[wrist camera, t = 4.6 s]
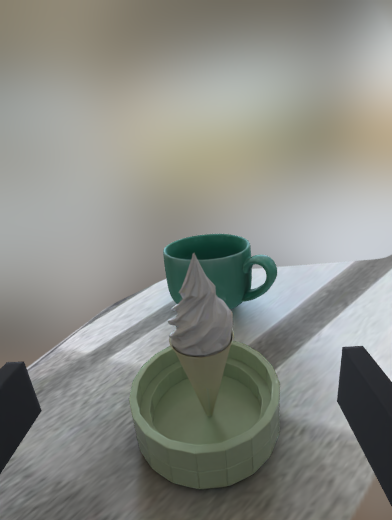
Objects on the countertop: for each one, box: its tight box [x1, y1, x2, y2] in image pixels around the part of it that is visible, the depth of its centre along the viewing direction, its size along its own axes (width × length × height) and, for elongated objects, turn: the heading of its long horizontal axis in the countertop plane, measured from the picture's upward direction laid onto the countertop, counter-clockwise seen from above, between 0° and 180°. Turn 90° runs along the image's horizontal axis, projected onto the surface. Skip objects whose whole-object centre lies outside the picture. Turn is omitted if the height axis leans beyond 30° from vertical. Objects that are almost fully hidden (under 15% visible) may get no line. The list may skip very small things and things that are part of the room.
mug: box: [163, 234, 277, 309], centre depth 42 cm, size 17×13×10 cm
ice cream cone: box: [168, 253, 234, 417], centre depth 22 cm, size 5×5×15 cm
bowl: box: [129, 341, 280, 489], centre depth 25 cm, size 12×12×4 cm
